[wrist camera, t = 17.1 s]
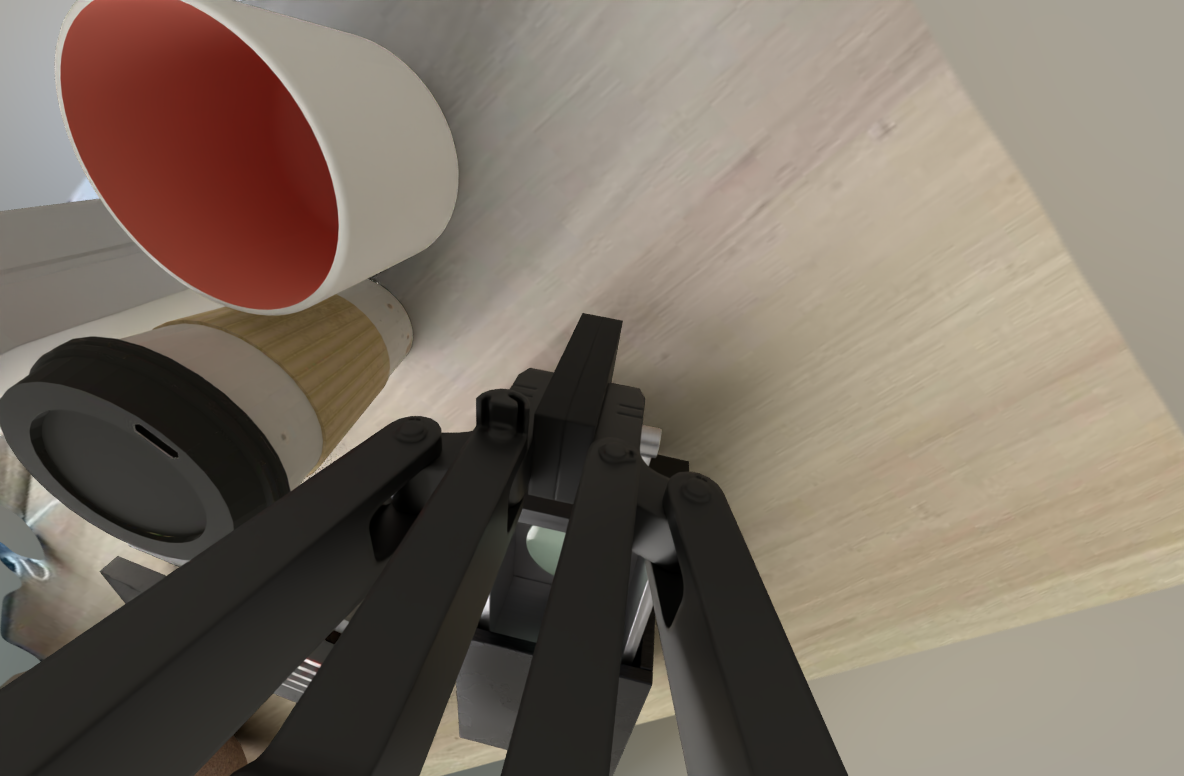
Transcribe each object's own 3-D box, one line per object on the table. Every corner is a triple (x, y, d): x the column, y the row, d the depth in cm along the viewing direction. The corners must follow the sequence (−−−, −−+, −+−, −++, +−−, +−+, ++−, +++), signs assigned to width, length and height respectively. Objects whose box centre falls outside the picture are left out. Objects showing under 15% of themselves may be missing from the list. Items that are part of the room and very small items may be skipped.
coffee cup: (269, 305, 29) (-46, 445, 16) (349, 211, 25) (8, 300, 12) (382, 410, 32) (191, 596, 20) (470, 342, 28) (299, 523, 15)
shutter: (411, 681, 67) (450, 611, 47) (387, 738, 61) (419, 686, 42) (197, 609, 63) (140, 498, 43) (151, 663, 57) (61, 566, 37)
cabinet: (497, 533, 37) (452, 635, 30) (657, 570, 36) (652, 685, 29) (494, 638, 46) (459, 737, 39) (622, 670, 45) (612, 778, 38)
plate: (640, 502, 30) (637, 527, 28) (622, 567, 34) (619, 593, 32) (537, 479, 30) (528, 502, 28) (531, 546, 34) (522, 571, 32)
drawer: (506, 357, 27) (460, 421, 21) (710, 398, 26) (719, 476, 20) (499, 565, 38) (467, 645, 32) (642, 599, 37) (636, 687, 31)
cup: (406, 287, 27) (281, 363, 18) (259, 156, 24) (33, 172, 16) (506, 158, 22) (400, 179, 14) (337, -22, 19) (76, -135, 11)
